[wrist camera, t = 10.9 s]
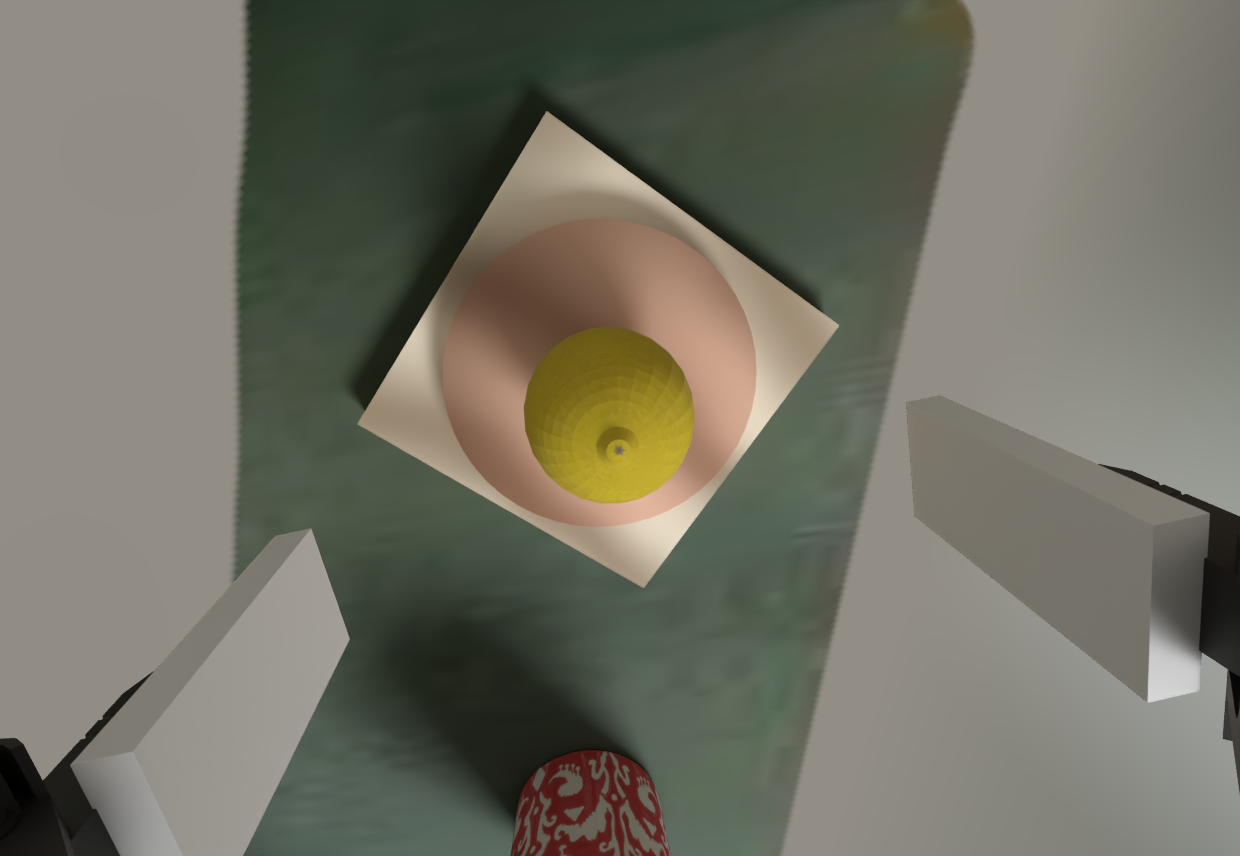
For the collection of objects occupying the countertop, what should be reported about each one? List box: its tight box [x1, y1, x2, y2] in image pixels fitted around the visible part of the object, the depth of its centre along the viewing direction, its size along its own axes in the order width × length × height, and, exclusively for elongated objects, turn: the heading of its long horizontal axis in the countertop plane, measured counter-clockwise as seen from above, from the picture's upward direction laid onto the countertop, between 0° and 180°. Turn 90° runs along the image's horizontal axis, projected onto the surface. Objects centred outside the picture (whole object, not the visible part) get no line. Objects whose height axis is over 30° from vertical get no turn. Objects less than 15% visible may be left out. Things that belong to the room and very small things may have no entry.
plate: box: [358, 111, 839, 588], centre depth 28 cm, size 14×14×3 cm
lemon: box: [524, 327, 695, 503], centre depth 23 cm, size 6×6×8 cm
